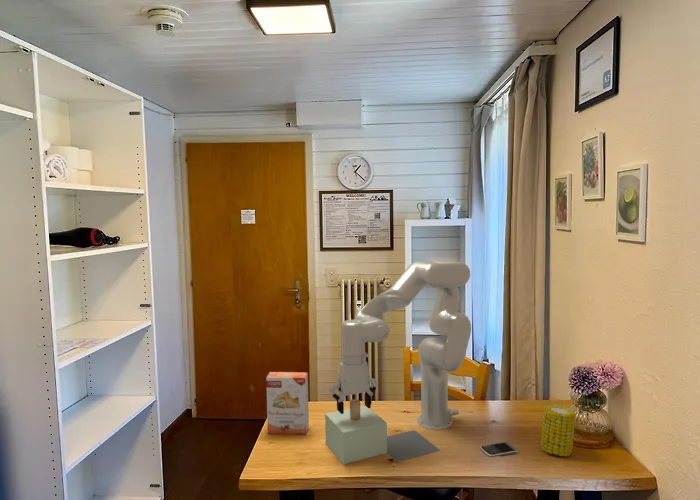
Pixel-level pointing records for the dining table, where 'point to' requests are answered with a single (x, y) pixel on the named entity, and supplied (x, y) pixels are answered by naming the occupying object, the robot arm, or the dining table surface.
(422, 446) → the mat
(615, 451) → the dining table surface
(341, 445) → the pale green box
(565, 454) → the food
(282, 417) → the cracker box
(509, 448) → the cell phone
